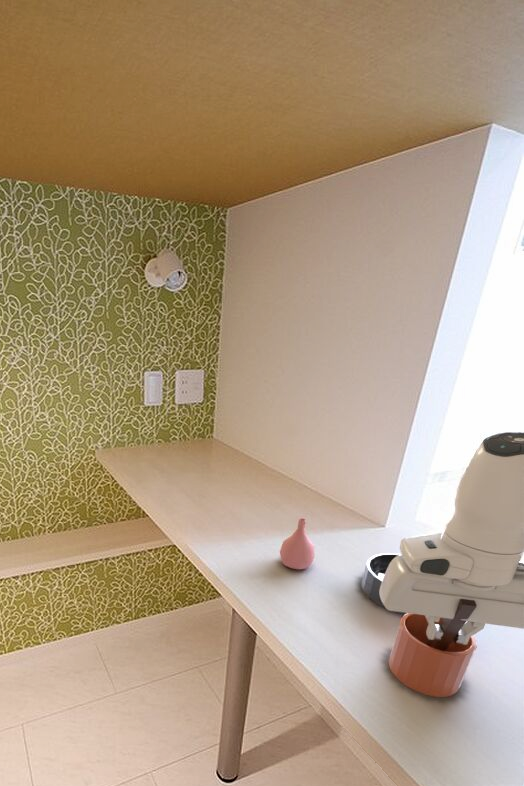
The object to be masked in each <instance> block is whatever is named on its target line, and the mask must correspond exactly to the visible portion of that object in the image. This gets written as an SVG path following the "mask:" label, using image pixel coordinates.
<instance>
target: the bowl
mask: <svg viewBox="0 0 524 786" xmlns="http://www.w3.org/2000/svg"><path fill="white" fill-rule="evenodd" d="M399 555H401V553H393V552H388V553H378V554H374V555H372V556H371V557H369V558H367V560H366V564H365V567H364V572H363V576H362V580H361V584H360V585H361V589H362V592H363V593H364V594H365V596H366V597H367V598H368V599H369V600H370V601H373V602H374V603H375V604H376V605H378V606H380V607H382V608H384V609H386V607H385V606H384V605H383V603H382V601H381V598H380V593H379V591H380V586H381V583H382V579H380V578H379V577H377V576H378V574H379V573H382V574H385V572H386V570H387V568H388V566H389V564H390V562H391V561H392V560H393V559H394V558H395V557H397V556H399ZM393 612H395V613H398V614H400V615H401V614H402V615H405V614H407V613H404V612H397V611H393Z"/></svg>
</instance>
